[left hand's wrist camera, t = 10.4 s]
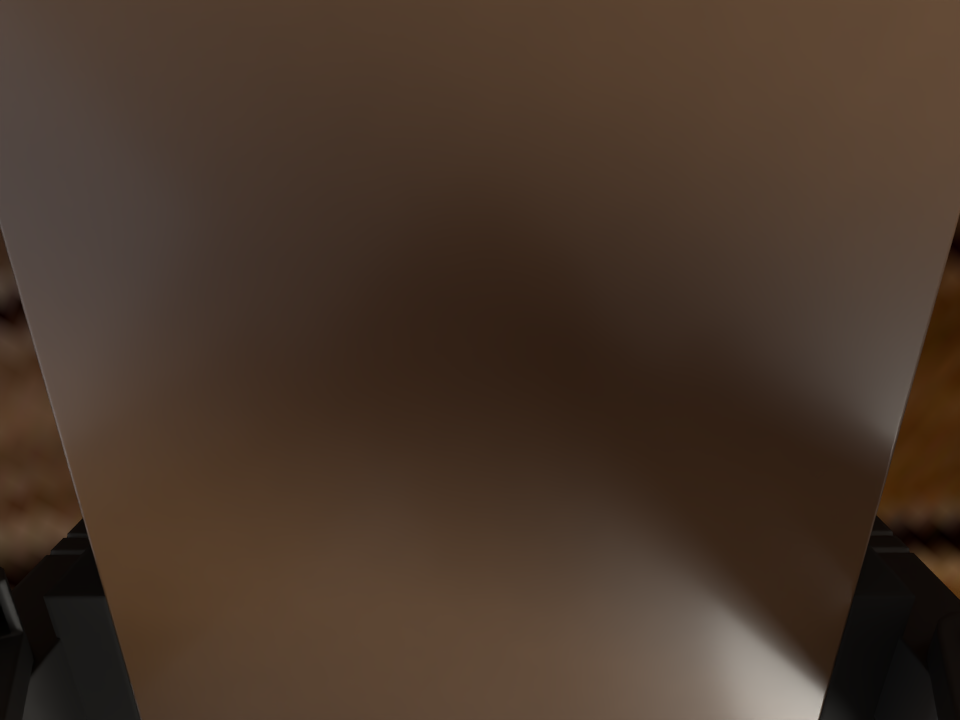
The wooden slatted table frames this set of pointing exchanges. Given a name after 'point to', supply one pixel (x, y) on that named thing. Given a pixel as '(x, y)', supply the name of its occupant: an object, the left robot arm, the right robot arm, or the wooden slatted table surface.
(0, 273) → the wooden slatted table surface
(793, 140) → the beam
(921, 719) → the left robot arm
